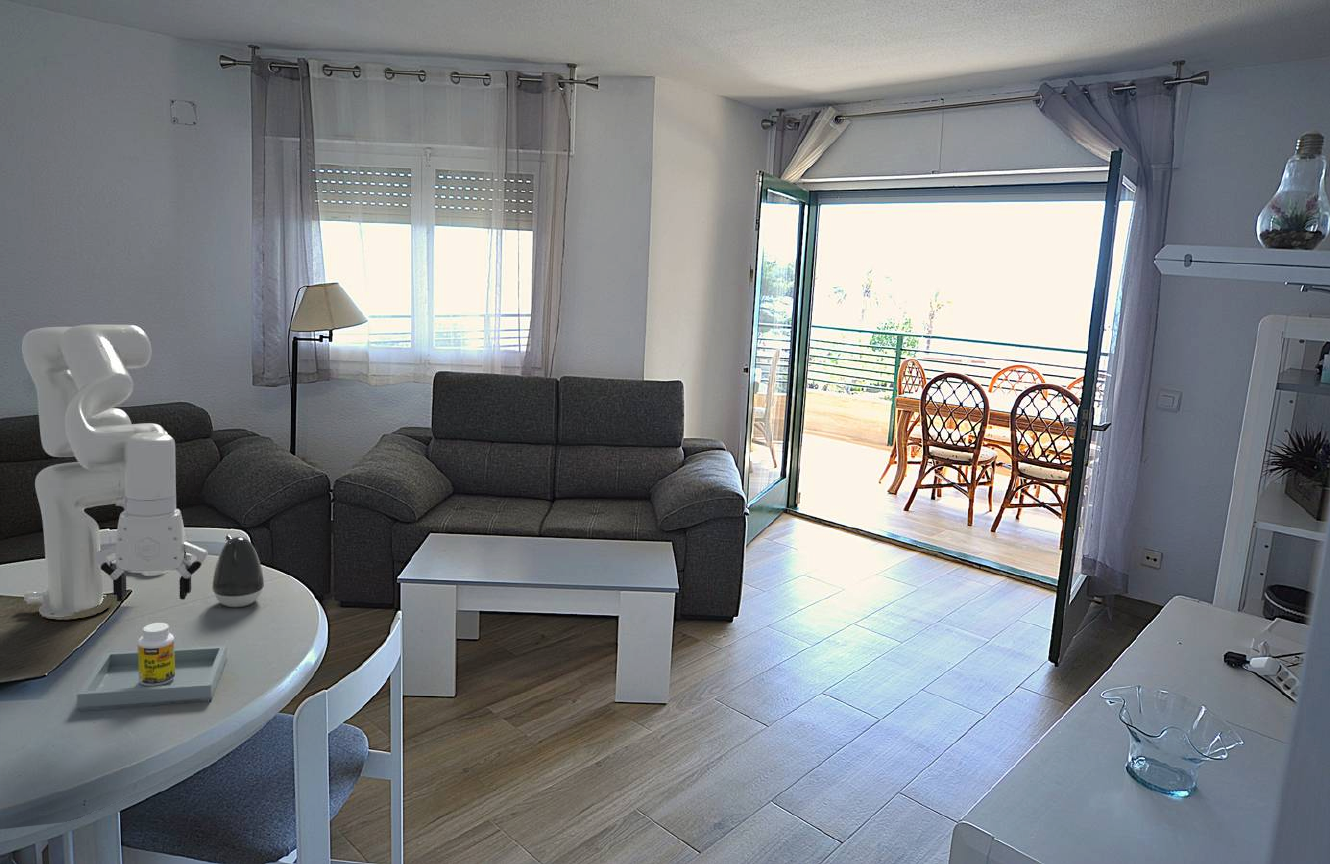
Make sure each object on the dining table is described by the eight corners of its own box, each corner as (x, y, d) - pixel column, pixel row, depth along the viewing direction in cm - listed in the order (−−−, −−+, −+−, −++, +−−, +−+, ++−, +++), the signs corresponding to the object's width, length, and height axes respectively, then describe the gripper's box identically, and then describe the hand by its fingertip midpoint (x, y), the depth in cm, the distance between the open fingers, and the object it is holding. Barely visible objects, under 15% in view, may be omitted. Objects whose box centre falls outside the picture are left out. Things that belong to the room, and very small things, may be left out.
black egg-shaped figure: (251, 590, 198) (250, 527, 196) (272, 604, 192) (271, 539, 189) (204, 600, 191) (203, 535, 188) (224, 615, 184) (223, 548, 181)
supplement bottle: (139, 690, 151) (137, 635, 149) (138, 676, 155) (136, 623, 153) (176, 684, 154) (174, 630, 152) (174, 670, 158) (172, 618, 156)
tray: (78, 710, 144) (77, 694, 143) (106, 667, 159) (105, 652, 158) (211, 700, 150) (211, 685, 149) (226, 660, 165) (226, 645, 164)
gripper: (85, 511, 142) (89, 607, 145) (203, 511, 148) (203, 604, 151) (99, 497, 149) (102, 590, 152) (211, 498, 154) (211, 587, 158)
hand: (153, 597), depth 152 cm, fingers open, 9 cm apart
